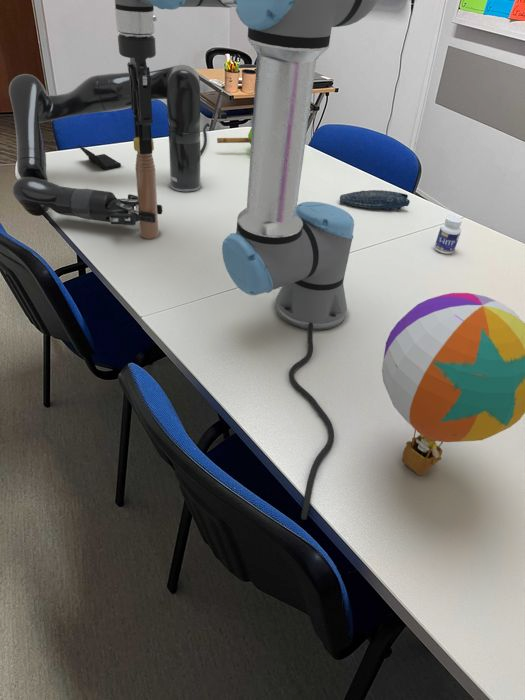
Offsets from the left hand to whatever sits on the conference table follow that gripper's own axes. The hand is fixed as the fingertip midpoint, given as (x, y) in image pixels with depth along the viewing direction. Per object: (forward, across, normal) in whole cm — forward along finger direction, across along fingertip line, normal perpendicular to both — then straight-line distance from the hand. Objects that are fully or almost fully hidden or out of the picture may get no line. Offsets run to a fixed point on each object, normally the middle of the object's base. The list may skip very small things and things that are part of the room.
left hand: (158, 214), depth 131 cm
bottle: (-3, 0, -6) cm, 7 cm away
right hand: (-3, 0, +16) cm, 16 cm away
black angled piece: (-34, -43, -6) cm, 55 cm away
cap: (-3, 0, +18) cm, 18 cm away
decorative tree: (+14, -72, -6) cm, 74 cm away
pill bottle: (+75, -15, -6) cm, 76 cm away
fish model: (+56, -38, -6) cm, 68 cm away
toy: (+62, +63, -6) cm, 88 cm away
